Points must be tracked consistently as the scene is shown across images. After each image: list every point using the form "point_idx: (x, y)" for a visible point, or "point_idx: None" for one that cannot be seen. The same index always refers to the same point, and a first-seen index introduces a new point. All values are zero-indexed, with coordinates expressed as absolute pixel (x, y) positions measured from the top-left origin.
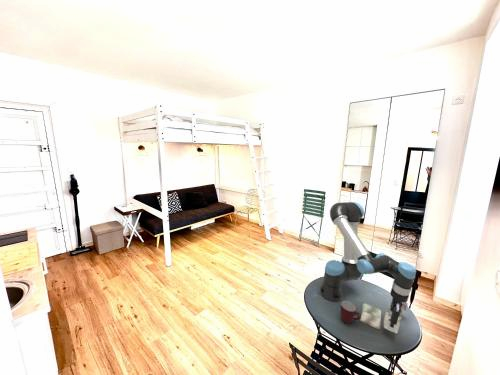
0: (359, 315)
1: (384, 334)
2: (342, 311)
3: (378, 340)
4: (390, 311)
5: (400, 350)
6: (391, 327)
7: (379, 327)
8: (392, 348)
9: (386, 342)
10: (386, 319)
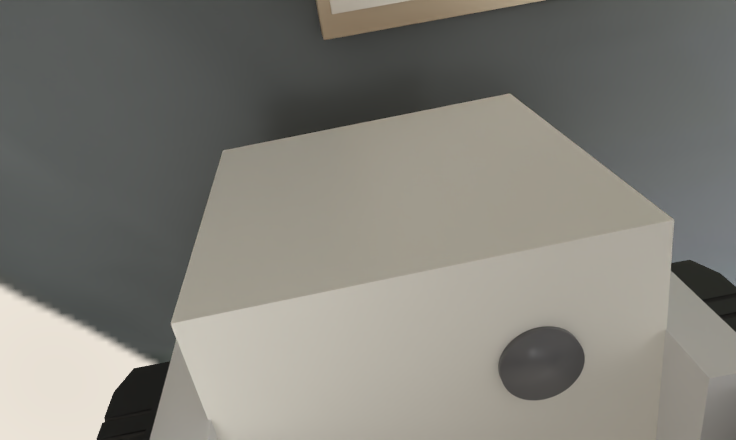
0: None
1: (277, 125)
2: None
3: (13, 72)
4: (725, 392)
5: (151, 362)
6: None
7: (344, 20)
8: (74, 281)
9: (112, 190)
10: (177, 323)
